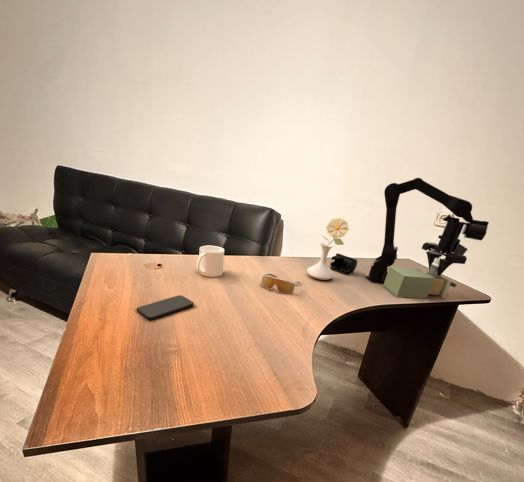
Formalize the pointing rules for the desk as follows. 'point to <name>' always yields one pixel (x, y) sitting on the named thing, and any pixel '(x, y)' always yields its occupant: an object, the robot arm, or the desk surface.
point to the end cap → (343, 264)
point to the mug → (210, 261)
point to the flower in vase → (335, 230)
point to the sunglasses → (278, 284)
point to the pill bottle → (434, 268)
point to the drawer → (441, 286)
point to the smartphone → (164, 307)
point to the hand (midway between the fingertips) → (434, 273)
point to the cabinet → (408, 282)
